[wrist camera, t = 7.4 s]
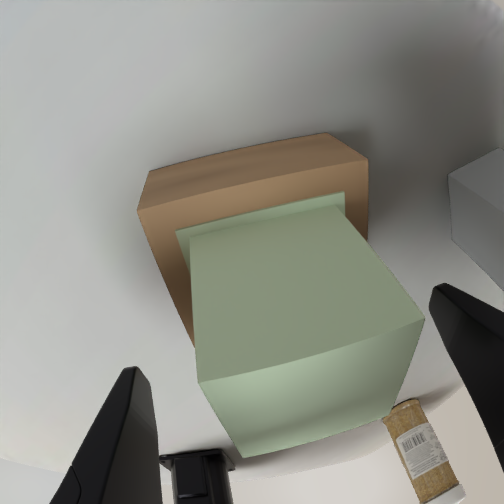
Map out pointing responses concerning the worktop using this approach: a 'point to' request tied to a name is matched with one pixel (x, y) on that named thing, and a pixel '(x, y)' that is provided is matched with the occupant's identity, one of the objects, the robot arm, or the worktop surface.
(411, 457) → the sprinkles bottle
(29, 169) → the worktop surface
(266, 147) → the base block
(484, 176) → the slate block
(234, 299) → the sage block
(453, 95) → the worktop surface
